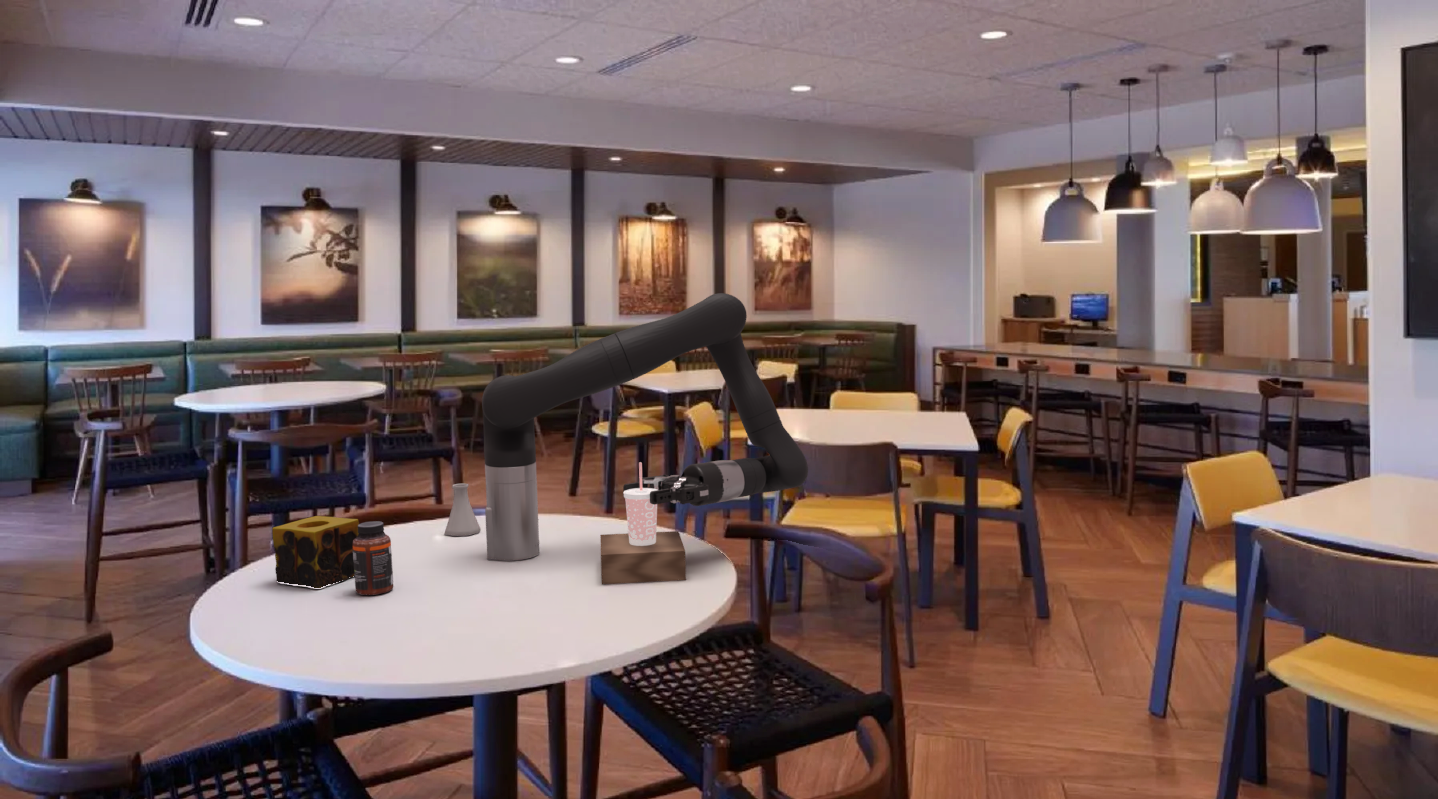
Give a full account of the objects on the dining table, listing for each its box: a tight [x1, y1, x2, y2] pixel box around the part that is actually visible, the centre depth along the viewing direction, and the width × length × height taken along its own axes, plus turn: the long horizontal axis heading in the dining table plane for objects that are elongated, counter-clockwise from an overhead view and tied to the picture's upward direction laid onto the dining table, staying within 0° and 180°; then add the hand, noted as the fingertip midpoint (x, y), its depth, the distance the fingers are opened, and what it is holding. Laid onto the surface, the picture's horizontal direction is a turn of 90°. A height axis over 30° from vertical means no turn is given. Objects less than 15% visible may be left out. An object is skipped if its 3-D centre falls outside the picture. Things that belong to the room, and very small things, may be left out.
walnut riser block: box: [599, 530, 687, 585], centre depth 171 cm, size 14×14×5 cm
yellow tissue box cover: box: [271, 515, 360, 588], centre depth 170 cm, size 10×10×10 cm
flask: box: [443, 482, 481, 537], centre depth 202 cm, size 7×7×10 cm
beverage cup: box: [623, 461, 658, 546], centre depth 170 cm, size 6×6×14 cm
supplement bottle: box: [353, 520, 394, 596], centre depth 162 cm, size 6×6×11 cm
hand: (637, 494), depth 170 cm, fingers open, 8 cm apart
